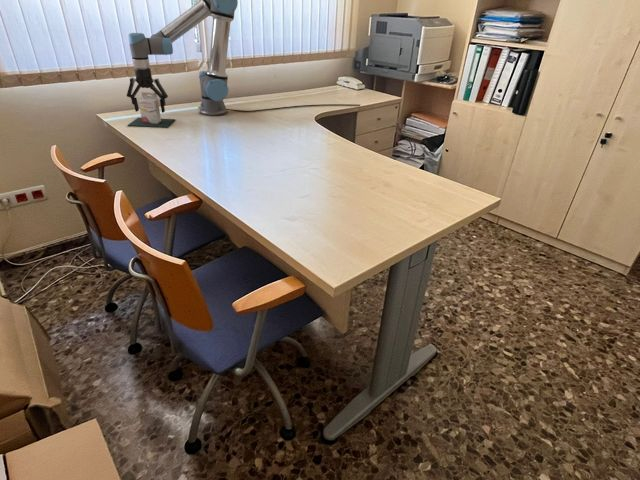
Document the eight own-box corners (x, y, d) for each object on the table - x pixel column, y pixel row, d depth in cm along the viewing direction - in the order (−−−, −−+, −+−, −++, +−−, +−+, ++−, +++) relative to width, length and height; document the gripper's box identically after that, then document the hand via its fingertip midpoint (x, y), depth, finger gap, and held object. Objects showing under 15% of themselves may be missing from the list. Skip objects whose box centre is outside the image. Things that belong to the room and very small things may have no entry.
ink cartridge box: (142, 122, 208) (136, 93, 200) (146, 120, 212) (140, 91, 205) (157, 123, 208) (152, 95, 200) (161, 121, 212) (156, 92, 204)
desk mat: (175, 120, 217) (174, 119, 216) (167, 127, 205) (166, 126, 205) (138, 118, 216) (138, 117, 216) (128, 126, 204) (127, 125, 204)
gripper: (169, 67, 199) (176, 110, 211) (119, 65, 198) (129, 108, 210) (165, 70, 193) (172, 114, 204) (113, 68, 192) (123, 112, 204)
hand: (150, 111), depth 207 cm, fingers open, 13 cm apart
